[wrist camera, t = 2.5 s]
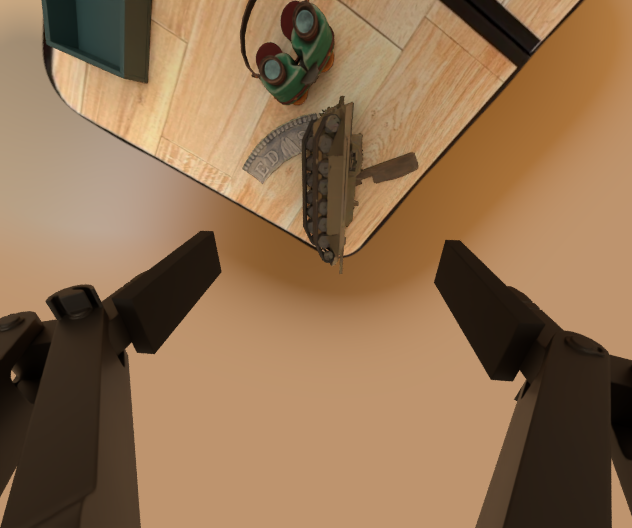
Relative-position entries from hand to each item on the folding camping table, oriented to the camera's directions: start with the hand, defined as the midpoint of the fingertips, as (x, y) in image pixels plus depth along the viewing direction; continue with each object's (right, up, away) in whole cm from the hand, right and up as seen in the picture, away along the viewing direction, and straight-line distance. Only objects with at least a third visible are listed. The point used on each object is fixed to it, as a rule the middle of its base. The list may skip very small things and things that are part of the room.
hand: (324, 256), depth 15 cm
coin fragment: (-4, +13, +21) cm, 25 cm away
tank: (-2, +8, +17) cm, 19 cm away
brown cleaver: (+9, +10, +21) cm, 25 cm away
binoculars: (-3, +24, +15) cm, 29 cm away
